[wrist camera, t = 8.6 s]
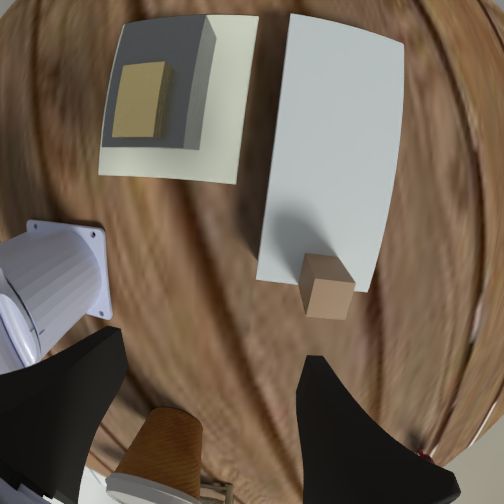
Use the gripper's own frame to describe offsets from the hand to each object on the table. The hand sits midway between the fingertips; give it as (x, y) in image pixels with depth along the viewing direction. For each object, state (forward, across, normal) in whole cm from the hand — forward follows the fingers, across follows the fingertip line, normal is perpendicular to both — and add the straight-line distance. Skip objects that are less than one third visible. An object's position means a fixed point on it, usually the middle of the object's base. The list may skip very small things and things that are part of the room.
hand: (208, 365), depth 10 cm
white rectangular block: (+10, -5, -8) cm, 14 cm away
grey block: (+9, +5, -12) cm, 16 cm away
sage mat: (+10, +5, -12) cm, 16 cm away
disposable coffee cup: (+10, +6, +20) cm, 23 cm away
